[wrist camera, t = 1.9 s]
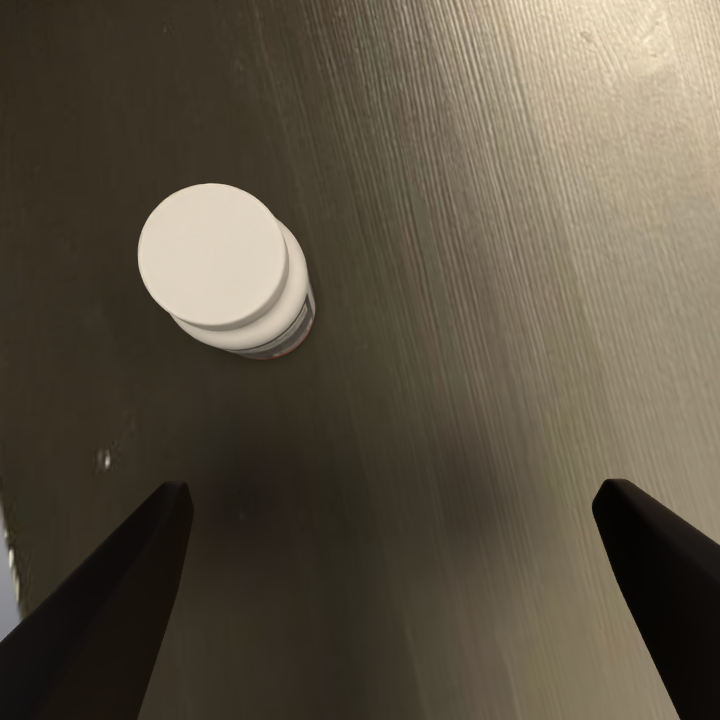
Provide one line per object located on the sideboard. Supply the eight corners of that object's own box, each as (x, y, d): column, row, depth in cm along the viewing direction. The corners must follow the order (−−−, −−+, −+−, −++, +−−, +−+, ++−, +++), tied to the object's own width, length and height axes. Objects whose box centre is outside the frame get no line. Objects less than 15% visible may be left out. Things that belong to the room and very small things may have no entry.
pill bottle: (213, 258, 23) (122, 161, 13) (315, 259, 24) (302, 165, 14) (211, 361, 23) (117, 340, 13) (316, 361, 23) (302, 340, 13)
